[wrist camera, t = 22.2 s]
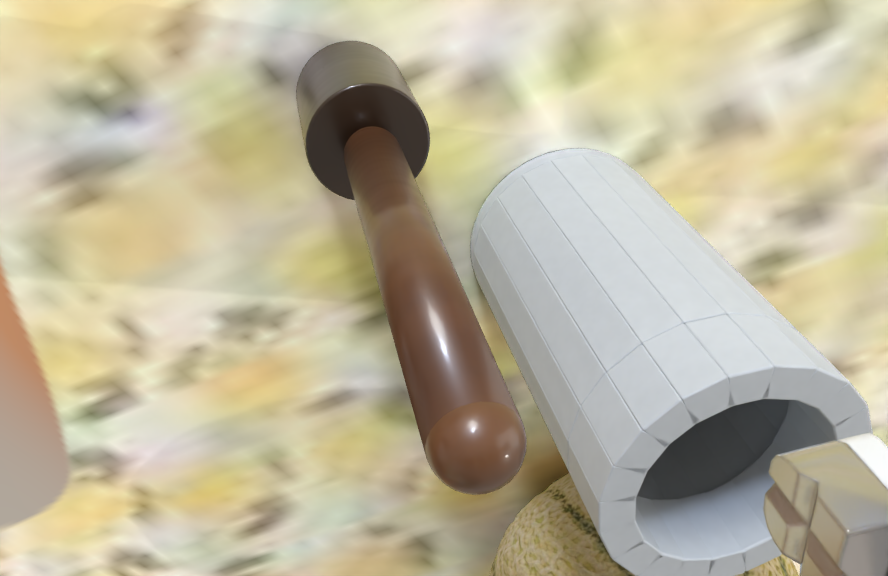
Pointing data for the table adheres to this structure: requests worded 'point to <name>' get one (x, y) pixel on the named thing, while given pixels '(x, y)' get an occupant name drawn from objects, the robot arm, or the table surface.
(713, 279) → the grey hollow cylinder
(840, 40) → the table surface
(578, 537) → the cantaloupe
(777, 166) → the table surface
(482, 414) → the brown pestle
